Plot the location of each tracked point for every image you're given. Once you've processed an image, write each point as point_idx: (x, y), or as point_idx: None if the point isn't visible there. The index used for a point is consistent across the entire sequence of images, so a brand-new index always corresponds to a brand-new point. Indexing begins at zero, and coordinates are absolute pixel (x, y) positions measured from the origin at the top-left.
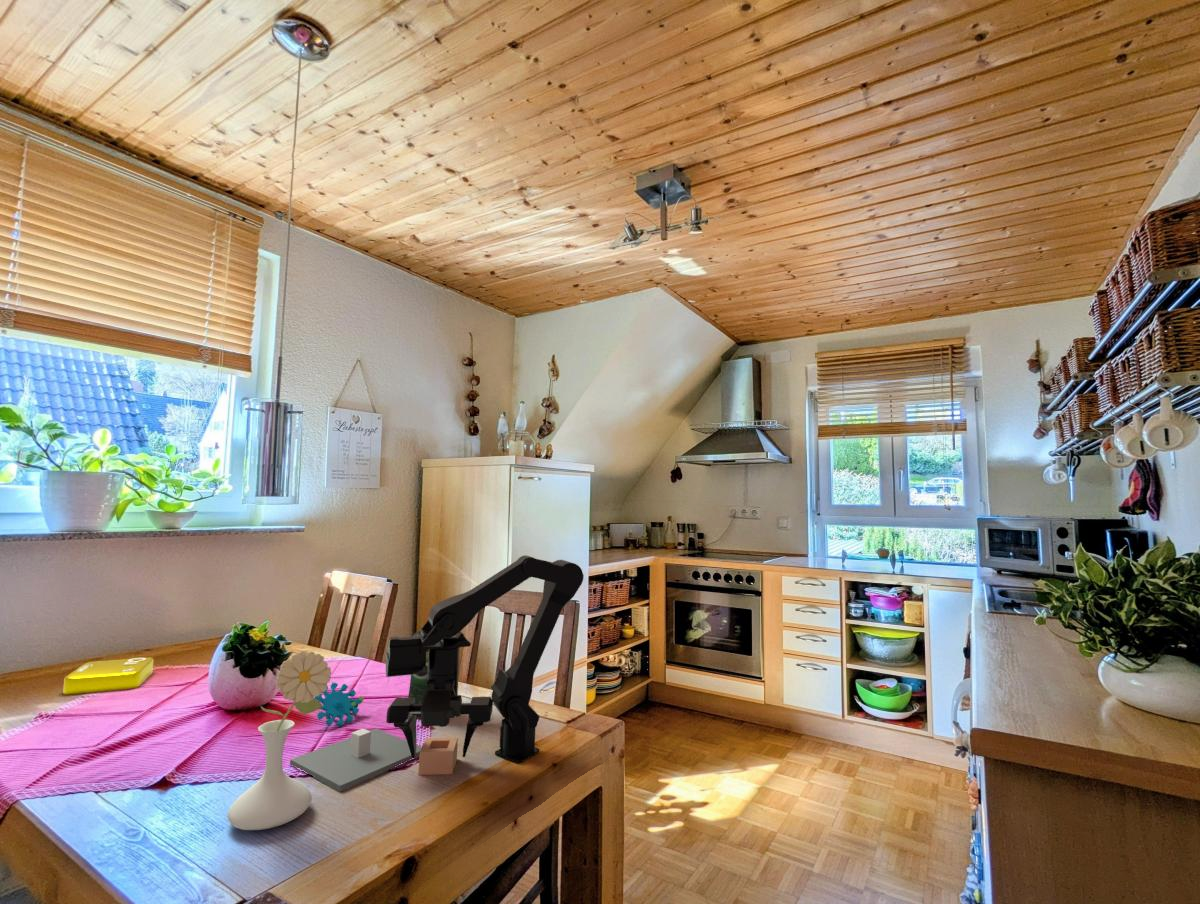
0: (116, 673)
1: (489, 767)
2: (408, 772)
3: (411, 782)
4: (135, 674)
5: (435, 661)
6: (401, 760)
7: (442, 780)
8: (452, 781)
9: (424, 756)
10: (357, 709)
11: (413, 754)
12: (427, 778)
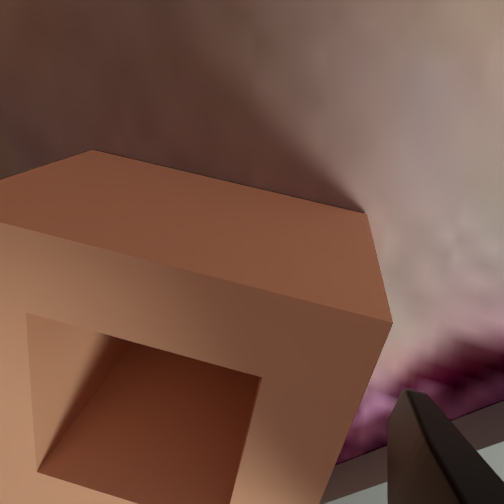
0: None
1: None
2: (443, 282)
3: (448, 83)
4: None
5: None
6: (490, 436)
7: (162, 52)
8: (74, 7)
9: (318, 273)
10: None
11: (423, 410)
12: (293, 128)
